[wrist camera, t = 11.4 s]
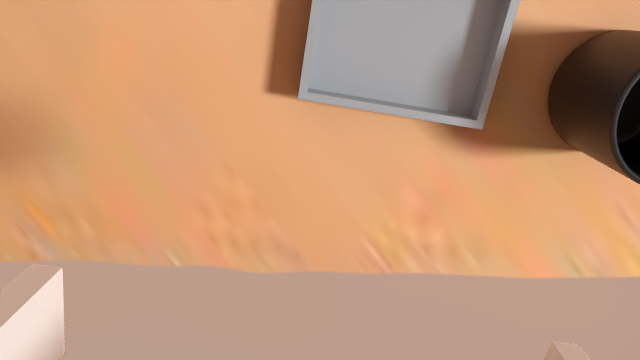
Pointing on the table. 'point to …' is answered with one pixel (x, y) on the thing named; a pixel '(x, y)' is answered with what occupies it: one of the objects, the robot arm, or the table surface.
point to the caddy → (407, 56)
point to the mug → (601, 101)
